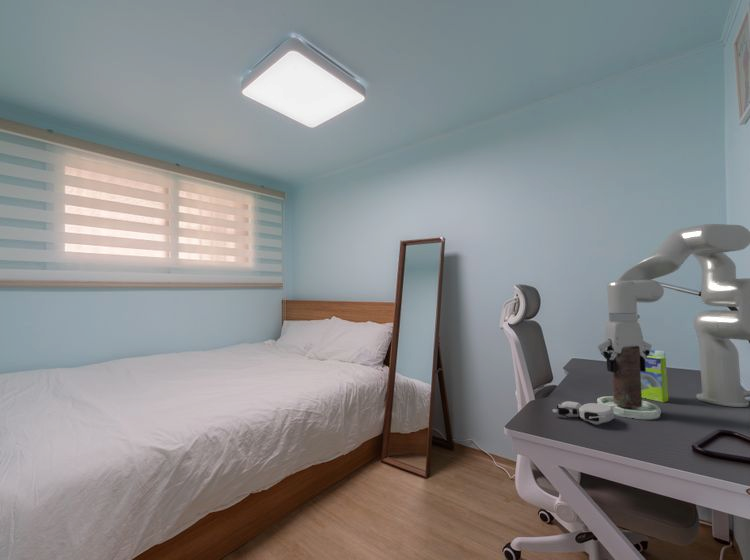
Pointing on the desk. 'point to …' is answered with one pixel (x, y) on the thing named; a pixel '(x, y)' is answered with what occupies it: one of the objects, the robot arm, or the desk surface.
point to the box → (655, 377)
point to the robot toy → (586, 411)
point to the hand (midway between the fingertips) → (626, 371)
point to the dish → (632, 409)
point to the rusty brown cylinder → (627, 379)
